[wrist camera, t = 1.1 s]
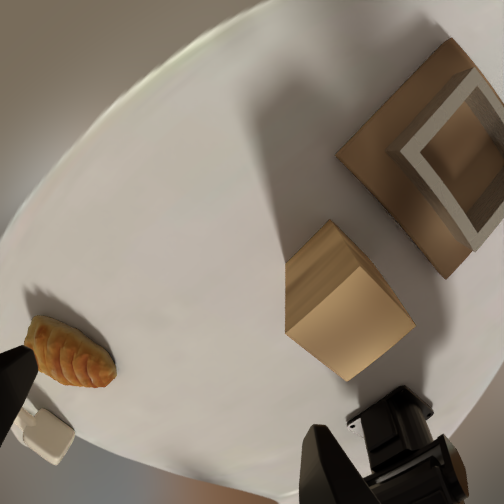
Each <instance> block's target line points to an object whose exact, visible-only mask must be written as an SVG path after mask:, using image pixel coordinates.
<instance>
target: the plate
mask: <svg viewBox="0 0 504 504" xmlns="http://www.w3.org/2000/svg"><path fill="white" fill-rule="evenodd" d="M473 67H475V68H476V69H477V71H478V72H479V73H480V75H481V76H482V77H483V78H484V80H485V81H486V83H487V84H488V85H489V87H490V88H491V89H492V91H493V92H494V94H495V95H496V97H497V98H498V99H499V101H500V102H501V104H502V105H503V107H504V104H503V102H502V101H501V99H500V98H499V96H498V95H497V93H496V92H495V90H494V89H493V88H492V86H491V85H490V83H489V82H488V81H487V79H486V78H485V77H484V75H483V74H482V73H481V71H480V70H479V69H478V68H477V66H476V65H475V64H474V62H473V61H472V60H471V59H470V58H469V56H468V55H467V54H466V53H465V52H464V50H463V49H462V48H461V47H460V46H459V45H458V44H457V43H456V41H455V40H454V39H453V38H450V39H448V40H447V41H445V42H444V43H443V44H442V45H441V46H440V47H439V48H438V49H437V50H436V51H435V52H434V53H433V54H432V55H431V56H430V57H429V58H428V59H427V60H426V61H425V62H424V63H423V64H422V65H421V66H420V67H419V68H418V69H417V70H416V71H415V72H414V73H413V75H412V76H411V77H410V78H409V79H408V80H407V81H406V82H405V83H404V84H403V85H402V86H401V87H400V88H399V89H398V90H397V91H396V92H395V93H394V94H393V95H392V96H391V97H390V98H389V99H388V100H387V101H386V102H385V103H384V105H383V106H382V107H381V108H380V109H379V110H378V111H377V112H376V113H375V114H374V115H373V116H372V117H371V118H370V119H369V120H368V121H367V122H366V123H365V124H364V125H363V126H362V127H361V128H360V129H359V130H358V132H357V133H356V134H355V135H354V136H353V137H352V138H351V139H350V140H349V141H348V142H347V143H346V144H345V145H344V146H343V147H342V148H341V149H340V150H339V151H338V152H337V153H336V155H335V156H336V157H337V158H338V159H339V160H340V161H341V162H342V163H343V164H344V165H345V166H346V167H347V168H348V169H349V170H350V171H351V172H352V173H353V174H354V175H355V176H356V177H357V178H358V179H359V180H360V181H361V182H362V184H363V185H364V186H365V187H366V188H367V189H368V190H369V191H370V192H371V193H372V194H373V195H374V196H375V197H376V198H377V200H378V201H379V202H380V203H381V204H382V205H383V206H384V207H385V208H386V210H387V211H388V212H389V213H390V214H391V215H392V216H393V217H394V219H395V220H396V221H397V222H398V223H399V224H400V226H401V227H402V228H403V229H404V230H405V231H406V233H407V234H408V235H409V236H410V237H411V239H412V240H413V241H414V242H415V244H416V245H417V246H418V247H419V249H420V250H421V251H422V252H423V254H424V255H425V256H426V257H427V259H428V260H429V261H430V262H431V264H432V265H433V266H434V268H435V269H436V270H437V272H438V273H439V274H440V275H441V276H442V277H443V278H444V279H447V278H448V277H449V276H450V275H451V274H452V273H453V272H454V271H455V270H456V269H457V268H458V267H459V265H460V264H461V263H462V262H463V261H464V260H465V259H466V258H467V257H468V256H469V254H470V253H471V252H472V250H471V249H469V248H468V247H466V246H464V245H463V244H461V243H460V242H458V241H456V240H455V238H454V237H453V235H452V234H451V233H450V231H449V230H448V228H447V227H446V225H445V224H444V223H443V221H442V220H441V219H440V217H439V216H438V215H437V213H436V212H435V211H434V209H433V208H432V207H431V205H430V204H429V203H428V201H427V200H426V199H425V198H424V196H423V195H422V194H421V193H420V191H419V190H418V189H417V188H416V186H415V185H414V184H413V183H412V182H411V180H410V179H409V178H408V177H407V176H406V174H405V173H404V172H403V171H402V170H401V169H400V167H399V166H398V165H397V164H396V163H395V162H394V161H393V160H392V158H391V157H390V156H389V155H388V154H387V153H386V152H385V151H384V150H385V149H386V148H387V147H388V146H389V145H390V144H391V143H392V142H393V141H394V140H395V139H396V138H397V137H398V135H399V134H400V133H401V132H402V131H403V130H404V129H405V128H406V127H407V126H408V125H409V124H410V123H411V121H412V120H413V119H414V118H415V117H416V116H417V115H418V114H419V113H420V112H421V111H422V109H423V108H424V107H425V106H426V105H427V104H428V103H429V102H430V101H431V100H432V99H433V97H434V96H435V95H436V94H437V93H438V92H439V91H440V90H441V89H442V87H443V86H444V85H445V84H446V83H447V82H448V81H449V80H450V79H451V77H452V76H453V75H454V74H456V73H459V72H462V71H464V70H467V69H470V68H473ZM420 153H421V155H422V156H423V157H424V158H425V160H426V161H427V162H428V163H429V165H430V166H431V167H432V168H433V170H434V171H435V172H436V174H437V175H438V176H439V178H440V179H441V180H442V182H443V183H444V184H445V186H446V187H447V188H448V190H449V191H450V192H451V194H452V195H453V197H454V198H455V200H456V201H457V202H458V204H459V205H460V207H461V208H462V210H463V211H464V213H465V214H466V213H467V212H468V210H469V209H470V208H471V207H472V206H473V204H474V203H475V202H476V201H477V199H478V198H479V197H480V196H481V195H482V193H483V192H484V191H485V190H486V188H487V187H488V186H489V184H490V183H491V182H492V181H493V179H494V178H495V177H496V175H497V174H498V173H499V171H500V170H501V169H502V167H503V166H504V159H503V157H502V156H501V154H500V152H499V151H498V149H497V148H496V146H495V144H494V143H493V141H492V140H491V138H490V137H489V135H488V133H487V132H486V130H485V129H484V127H483V126H482V125H481V123H480V122H479V120H478V119H477V117H476V116H475V115H474V113H473V112H472V111H471V109H470V108H469V106H468V105H467V104H466V102H465V101H464V102H463V103H462V104H461V106H460V107H459V108H458V109H457V110H456V111H455V113H454V114H453V115H452V116H451V117H450V118H449V120H448V121H447V122H446V123H445V124H444V125H443V127H442V128H441V129H440V130H439V131H438V132H437V133H436V135H435V136H434V137H433V138H432V139H431V140H430V141H429V142H428V144H427V145H426V146H425V147H424V148H423V149H422V150H421V151H420Z"/></svg>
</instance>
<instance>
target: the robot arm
mask: <svg viewBox="0 0 504 504" xmlns="http://www.w3.org/2000/svg"><path fill="white" fill-rule="evenodd" d="M37 373H38V364H37V361H36V357H35V354H34V351H33V350H32V349H31V348H29V347H27V346H25V345H21V346H18V347H16V348H13V349H11V350H8V351H5V352H3V353H0V447H1V445H2V443H3V441H4V439H5V437H6V435H7V433H8V431H9V430H10V428H11V426H12V424H13V422H14V421H15V419H16V417H17V415H18V413H19V412H20V410H21V408H22V406H23V404H24V402H25V399H26V397H27V395H28V393H29V391H30V388H31V386H32V384H33V382H34V380H35V378H36V375H37ZM401 391H402V392H401ZM433 414H434V412H433V410H432V408H430V407H429V406H428V405H427V404H426V403H425V402H424V401H422V400H421V399H420V398H419V397H418V396H417V395H416V394H414V393H413V392H412V391H411V390H410V389H409V388H408V387H406V386H405V385H403V386H400V387H398V388H397V389H396V390H394V391H393V392H392V393H390V394H389V395H387V396H386V397H385V398H383V399H382V400H380V401H379V402H378V403H376V404H375V405H373V406H372V407H370V408H369V409H367V410H366V411H364V412H363V413H361V414H360V415H358V416H357V417H355V418H353V419H352V420H350V421H349V422H348V423H347V428H348V429H349V430H350V431H352V432H354V433H356V434H357V435H359V436H361V437H362V438H364V439H365V444H366V449H367V452H368V457H369V463H370V468H371V472H372V474H371V475H369V476H366V477H364V478H362V476H361V475H360V474H359V472H358V471H357V469H356V468H355V466H354V465H353V463H352V462H351V461H350V459H349V458H348V456H347V455H346V453H345V452H344V450H343V449H342V448H341V446H340V445H339V443H338V442H337V440H336V439H335V437H334V436H333V434H332V433H331V431H330V430H329V428H328V427H327V426H326V425H320V424H313V425H312V426H311V427H310V429H309V431H308V433H307V434H306V436H305V438H304V440H303V444H302V456H301V469H300V480H299V504H465V503H464V499H466V498H468V497H469V490H468V482H467V474H466V469H465V466H464V464H463V461H462V459H461V457H460V455H459V453H458V451H457V449H456V448H455V447H454V446H453V445H452V443H451V442H450V441H449V440H448V438H447V437H446V436H445V435H444V434H442V435H440V436H439V437H437V439H436V440H434V441H433V438H432V435H431V433H430V430H429V428H428V425H427V423H426V420H427V419H429V418H430V417H431V416H432V415H433Z"/></svg>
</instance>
